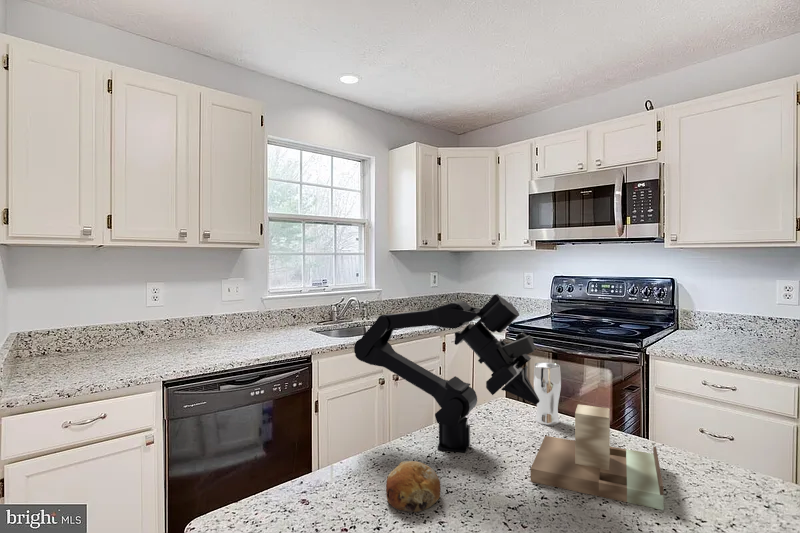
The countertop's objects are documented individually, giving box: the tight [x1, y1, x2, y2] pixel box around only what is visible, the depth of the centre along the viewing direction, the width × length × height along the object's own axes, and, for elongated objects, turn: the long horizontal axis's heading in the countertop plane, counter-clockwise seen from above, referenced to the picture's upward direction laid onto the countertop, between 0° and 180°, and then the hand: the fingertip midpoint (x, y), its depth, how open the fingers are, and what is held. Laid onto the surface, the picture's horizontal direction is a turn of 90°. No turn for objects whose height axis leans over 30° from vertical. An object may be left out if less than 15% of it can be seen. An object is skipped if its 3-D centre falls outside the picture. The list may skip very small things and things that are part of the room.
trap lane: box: [530, 435, 665, 511], centre depth 87 cm, size 22×18×4 cm
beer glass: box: [533, 361, 562, 426], centre depth 116 cm, size 7×7×15 cm
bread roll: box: [385, 460, 441, 513], centre depth 79 cm, size 10×10×8 cm
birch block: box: [574, 404, 611, 470], centre depth 87 cm, size 6×6×10 cm
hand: (538, 402), depth 92 cm, fingers closed
